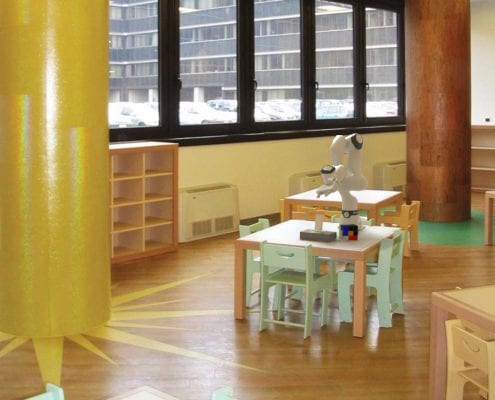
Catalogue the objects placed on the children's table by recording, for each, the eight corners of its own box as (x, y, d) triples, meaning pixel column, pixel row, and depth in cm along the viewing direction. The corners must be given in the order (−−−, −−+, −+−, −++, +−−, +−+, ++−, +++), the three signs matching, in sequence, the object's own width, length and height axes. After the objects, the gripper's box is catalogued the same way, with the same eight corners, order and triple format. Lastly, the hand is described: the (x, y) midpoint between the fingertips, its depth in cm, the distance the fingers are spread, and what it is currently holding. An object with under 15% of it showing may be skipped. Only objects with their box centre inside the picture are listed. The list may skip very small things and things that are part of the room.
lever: (315, 229, 570) (316, 211, 570) (323, 230, 567) (324, 211, 567) (313, 230, 568) (314, 210, 567) (321, 230, 564) (322, 211, 564)
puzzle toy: (343, 241, 561) (343, 226, 560) (339, 238, 571) (339, 224, 570) (357, 240, 563) (358, 225, 562) (353, 237, 573) (353, 223, 572)
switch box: (307, 236, 578) (307, 228, 578) (336, 239, 567) (336, 231, 567) (299, 238, 568) (299, 231, 568) (328, 241, 557) (329, 234, 556)
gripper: (320, 182, 592) (310, 195, 586) (338, 178, 574) (327, 191, 568) (325, 188, 594) (315, 201, 587) (343, 184, 576) (333, 198, 570)
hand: (321, 196), depth 578 cm, fingers open, 8 cm apart
